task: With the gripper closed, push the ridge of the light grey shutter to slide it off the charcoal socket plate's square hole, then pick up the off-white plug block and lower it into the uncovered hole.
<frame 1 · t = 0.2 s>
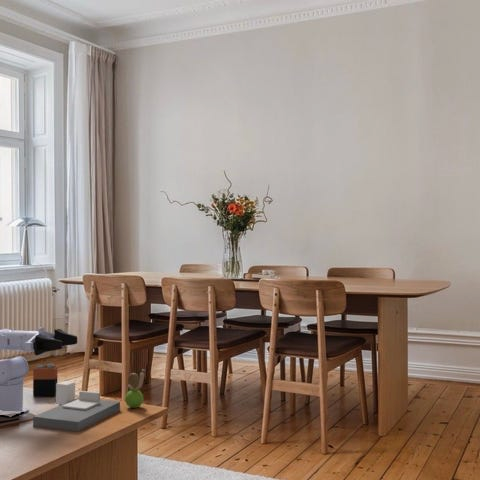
hand: (69, 342, 177), 22 cm above the table, tool horizontal, fingers open, 7 cm apart
shutter: (78, 417, 179), resting on socket plate, slide at 0.0 cm
battery: (45, 396, 204), on the table
plug: (65, 405, 192), on the table
snail figurine: (135, 408, 190), on the table
socket plate: (78, 417, 179), on the table
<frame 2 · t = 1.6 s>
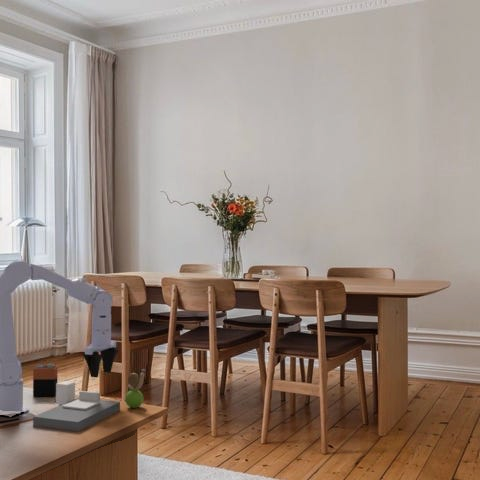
hand: (100, 374, 192), 9 cm above the table, tool pointing down, fingers open, 7 cm apart
nothing on the table moved.
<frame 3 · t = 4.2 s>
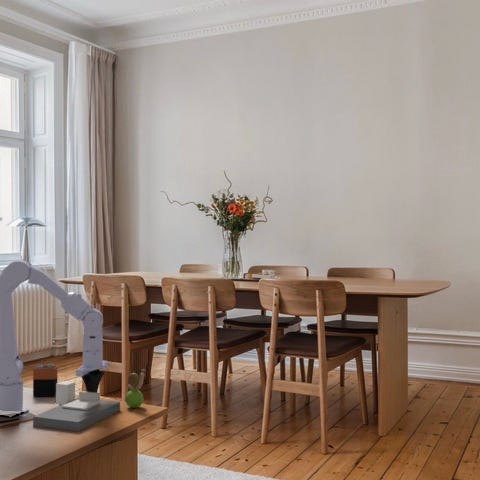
hand: (92, 396, 187), 4 cm above the table, tool pointing down, fingers closed
shutter: (78, 417, 179), resting on socket plate, slide at 0.2 cm, touching gripper
everything else where it was.
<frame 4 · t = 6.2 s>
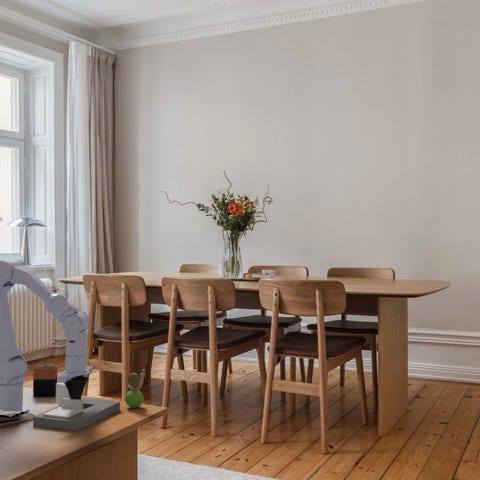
hand: (75, 403, 179), 4 cm above the table, tool pointing down, fingers closed
shutter: (59, 426, 170), resting on socket plate, slide at 8.9 cm, touching gripper
everything else where it was.
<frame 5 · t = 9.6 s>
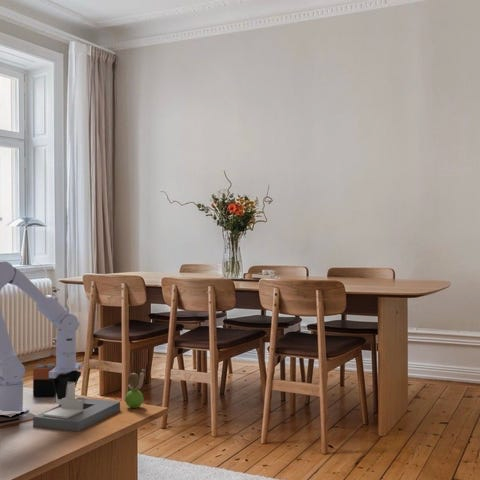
hand: (65, 397, 192), 2 cm above the table, tool pointing down, fingers closed on plug, 4 cm apart
shutter: (59, 426, 170), resting on socket plate, slide at 8.9 cm
plug: (65, 405, 192), on the table, touching gripper
everything else where it was.
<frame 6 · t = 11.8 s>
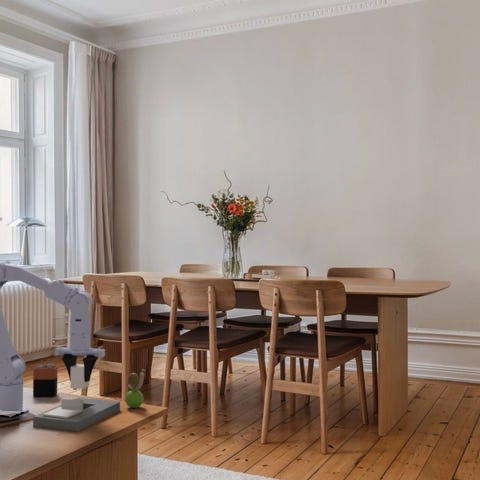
hand: (79, 380, 183), 9 cm above the table, tool pointing down, fingers closed on plug, 4 cm apart
plug: (80, 389, 183), point 7 cm above the table, touching gripper
everything else where it was.
when the fingers open (3 cm above the table, at t = 13.8 s): plug stays where it is, resting in socket plate.
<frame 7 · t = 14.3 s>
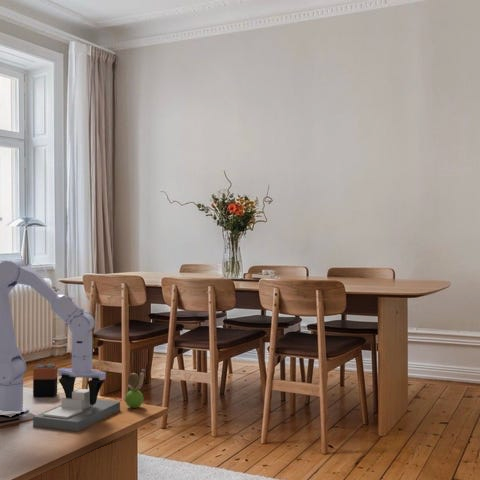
hand: (81, 402, 182), 3 cm above the table, tool pointing down, fingers open, 7 cm apart
plug: (81, 414, 182), resting in socket plate
everything else where it was.
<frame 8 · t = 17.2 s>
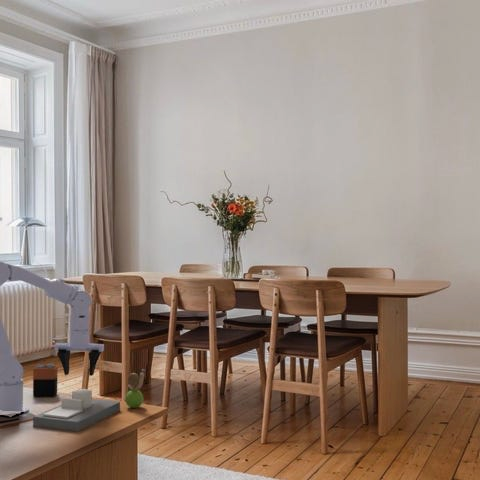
hand: (79, 374, 191), 9 cm above the table, tool pointing down, fingers open, 7 cm apart
nothing on the table moved.
at the end: plug 0.1 cm from the target spot, resting in socket plate; shutter slide at 8.9 cm; plug tilted 0° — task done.
